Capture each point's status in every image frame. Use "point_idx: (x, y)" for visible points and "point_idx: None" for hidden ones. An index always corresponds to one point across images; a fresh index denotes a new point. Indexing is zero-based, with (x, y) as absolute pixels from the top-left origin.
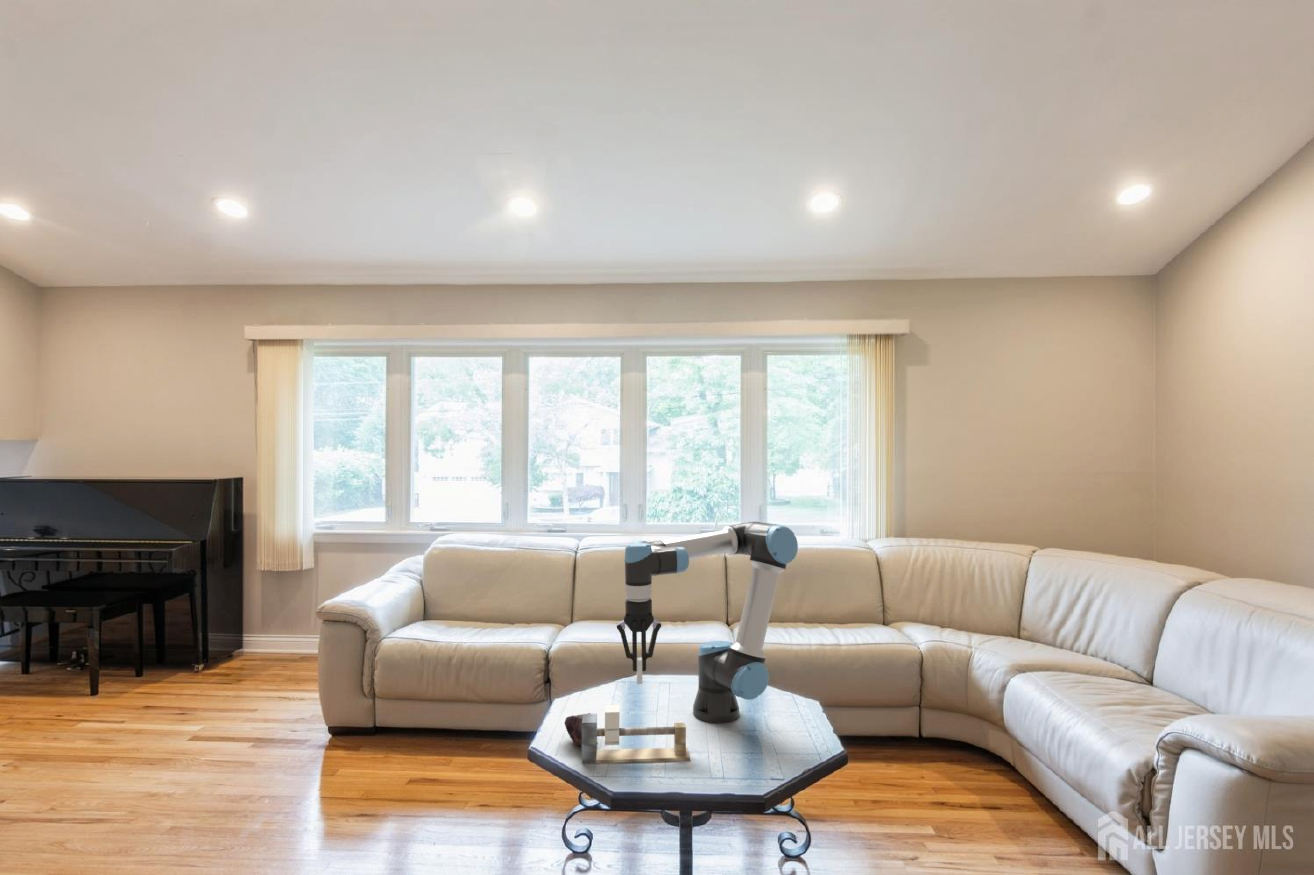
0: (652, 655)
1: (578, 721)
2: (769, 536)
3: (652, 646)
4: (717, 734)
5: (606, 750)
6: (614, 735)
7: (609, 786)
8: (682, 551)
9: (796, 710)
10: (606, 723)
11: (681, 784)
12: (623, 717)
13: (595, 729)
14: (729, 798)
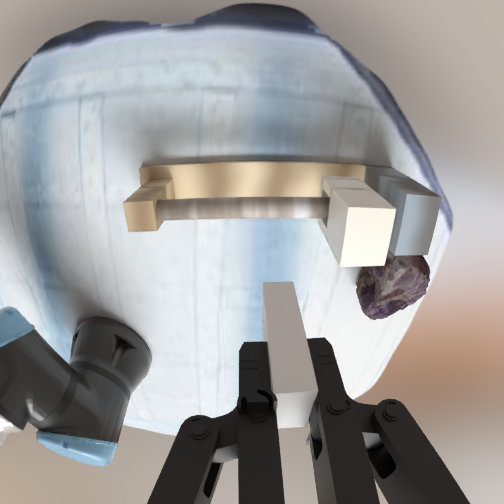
0: (180, 428)
1: (416, 263)
2: None
3: (171, 499)
4: (97, 278)
5: None
6: (340, 183)
7: (336, 59)
8: None
9: None
10: (376, 195)
11: (166, 59)
12: None
13: (399, 187)
14: (82, 27)
